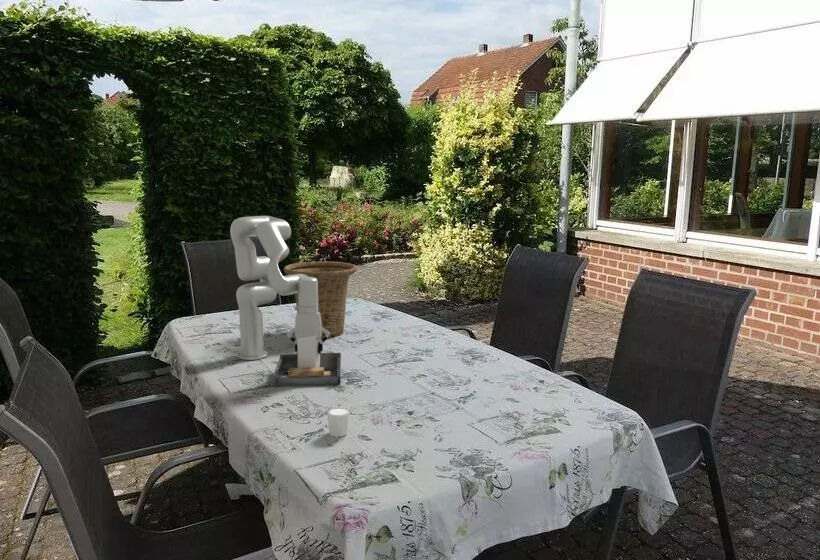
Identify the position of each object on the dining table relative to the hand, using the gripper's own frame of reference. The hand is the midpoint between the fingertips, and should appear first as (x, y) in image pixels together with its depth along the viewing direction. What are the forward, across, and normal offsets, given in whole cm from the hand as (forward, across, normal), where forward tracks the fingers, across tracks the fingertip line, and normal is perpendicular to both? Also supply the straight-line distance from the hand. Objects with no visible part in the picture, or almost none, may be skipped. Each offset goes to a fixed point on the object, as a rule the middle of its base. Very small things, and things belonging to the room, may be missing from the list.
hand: (308, 352), depth 242 cm
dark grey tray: (+9, 0, -3) cm, 9 cm away
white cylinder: (+9, +12, -56) cm, 58 cm away
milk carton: (+9, 0, 0) cm, 9 cm away
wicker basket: (+10, +2, +64) cm, 65 cm away
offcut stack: (+9, 0, -8) cm, 12 cm away
